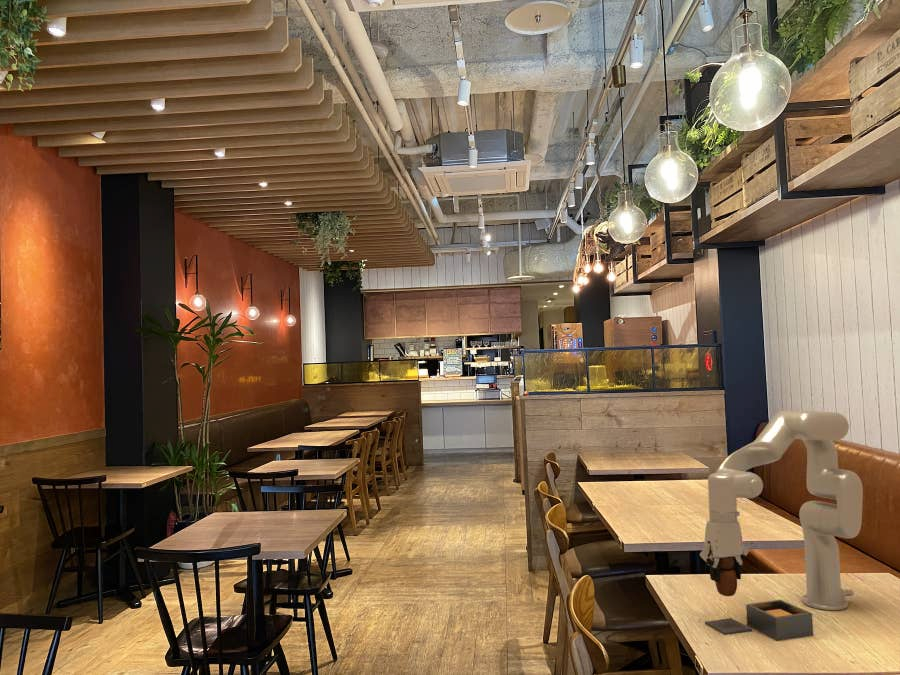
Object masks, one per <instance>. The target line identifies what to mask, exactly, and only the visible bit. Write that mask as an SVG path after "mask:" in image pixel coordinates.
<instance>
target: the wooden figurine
mask: <svg viewBox="0 0 900 675" xmlns="http://www.w3.org/2000/svg"><path fill="white" fill-rule="evenodd" d="M733 566H734V560H733V558H732V557H726V558H720V559H719V562H718V565H717V568H719V582H716V581H714V582H715V587H716V590H717V592H718V593H719V595H720V596H724V597H732V596H733V597H734V595H735V594H736V592H737V589H738V579H737V576H736V573H735V571H734V570H733V569H732V568H733Z"/></svg>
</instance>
